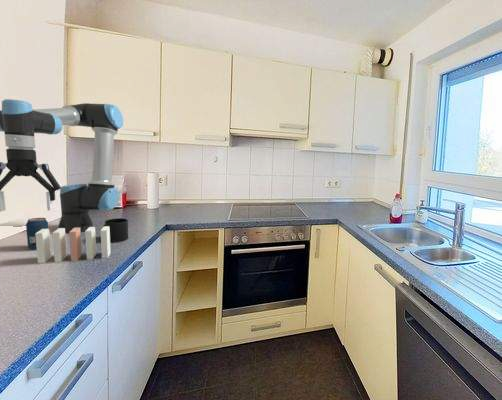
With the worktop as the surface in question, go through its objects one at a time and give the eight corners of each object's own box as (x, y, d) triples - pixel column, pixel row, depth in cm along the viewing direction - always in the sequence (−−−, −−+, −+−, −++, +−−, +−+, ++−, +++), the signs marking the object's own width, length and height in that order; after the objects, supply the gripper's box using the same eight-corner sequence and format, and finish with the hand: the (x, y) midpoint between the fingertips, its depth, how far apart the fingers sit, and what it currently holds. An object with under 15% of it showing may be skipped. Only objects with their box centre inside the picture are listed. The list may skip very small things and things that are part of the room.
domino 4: (86, 259, 96) (85, 231, 95) (90, 253, 102) (89, 227, 100) (92, 259, 97) (91, 231, 95) (96, 253, 103) (95, 226, 101)
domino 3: (71, 260, 95) (69, 232, 93) (75, 255, 100) (74, 227, 98) (77, 260, 95) (75, 231, 94) (81, 254, 101) (80, 227, 99)
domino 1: (38, 263, 91) (35, 233, 90) (44, 257, 97) (42, 228, 95) (44, 262, 92) (42, 233, 90) (51, 256, 98) (49, 228, 96)
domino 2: (54, 262, 93) (52, 232, 91) (60, 256, 99) (58, 228, 97) (61, 261, 94) (59, 232, 92) (66, 255, 99) (64, 228, 97)
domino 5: (101, 258, 98) (100, 230, 96) (104, 252, 104) (103, 226, 102) (107, 258, 99) (106, 230, 97) (110, 252, 104) (109, 226, 103)
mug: (110, 235, 126) (109, 217, 125) (132, 237, 124) (132, 219, 123) (95, 240, 117) (94, 221, 116) (119, 243, 115) (118, 223, 114)
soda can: (36, 244, 109) (33, 217, 107) (53, 244, 110) (51, 217, 108) (23, 250, 102) (20, 221, 100) (42, 250, 103) (39, 221, 101)
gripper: (-36, 145, 79) (-27, 213, 82) (61, 150, 88) (65, 211, 91) (-21, 146, 86) (-13, 208, 89) (68, 150, 95) (71, 207, 98)
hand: (26, 210), depth 90 cm, fingers open, 13 cm apart
